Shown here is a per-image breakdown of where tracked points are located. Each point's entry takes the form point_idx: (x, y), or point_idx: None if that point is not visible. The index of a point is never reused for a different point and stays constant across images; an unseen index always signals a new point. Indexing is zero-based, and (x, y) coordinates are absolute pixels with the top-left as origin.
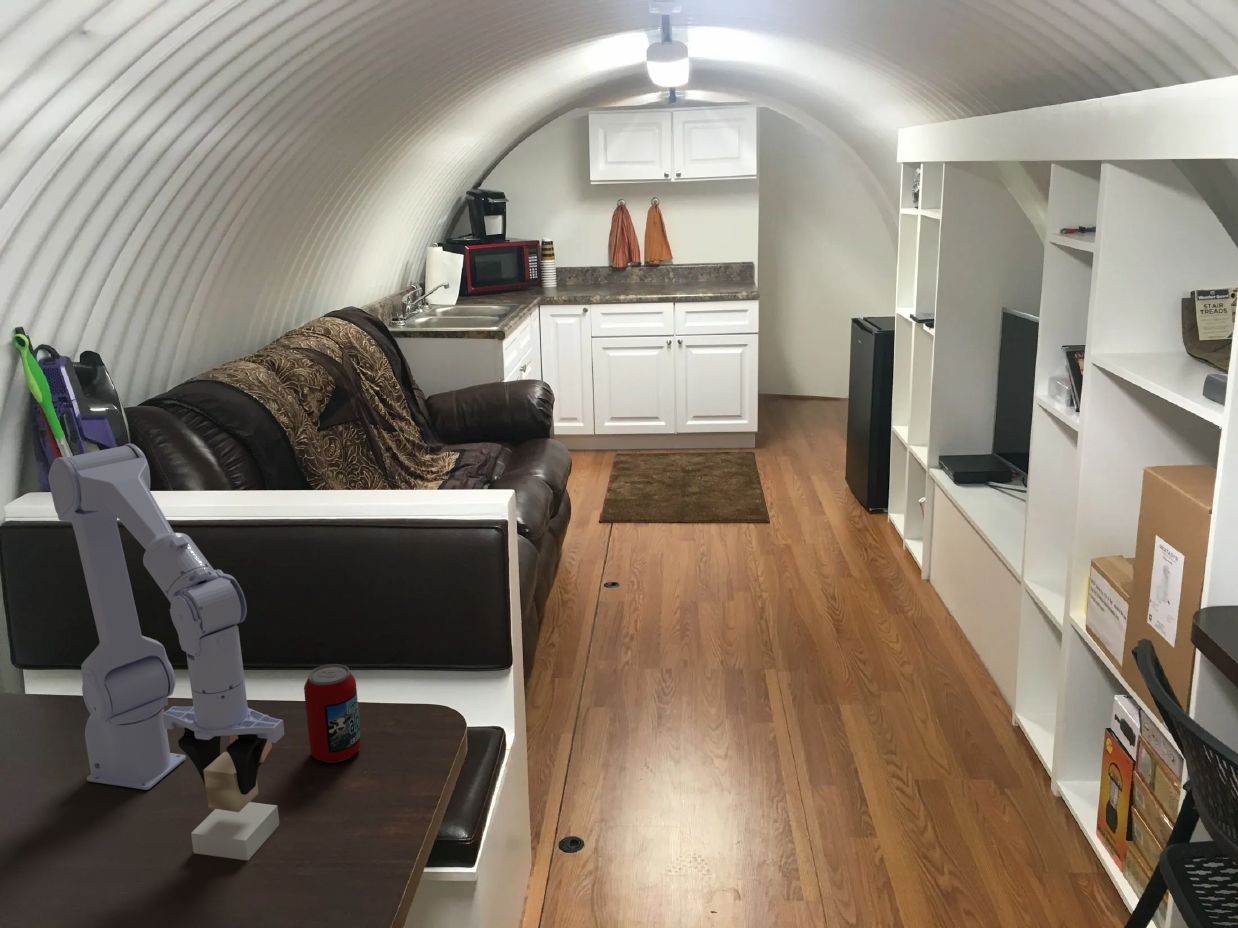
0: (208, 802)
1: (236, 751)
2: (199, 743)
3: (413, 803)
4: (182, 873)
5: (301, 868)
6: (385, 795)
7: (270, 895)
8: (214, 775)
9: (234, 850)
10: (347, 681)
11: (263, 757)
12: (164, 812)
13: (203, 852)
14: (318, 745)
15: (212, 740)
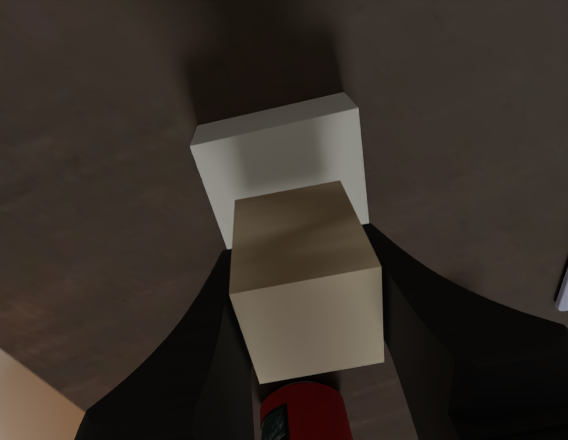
0: (341, 189)
1: (115, 426)
2: (444, 384)
3: (66, 367)
4: (310, 8)
5: (57, 154)
6: (129, 364)
7: (17, 37)
8: (323, 261)
9: (229, 125)
10: None
11: None
12: (507, 176)
13: (316, 99)
14: (307, 411)
15: (421, 404)
